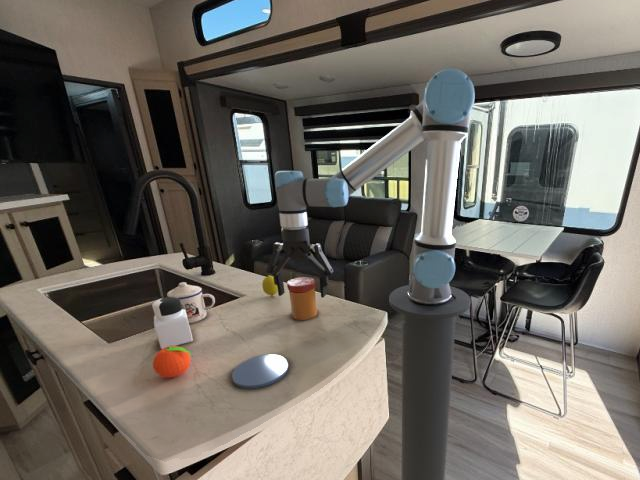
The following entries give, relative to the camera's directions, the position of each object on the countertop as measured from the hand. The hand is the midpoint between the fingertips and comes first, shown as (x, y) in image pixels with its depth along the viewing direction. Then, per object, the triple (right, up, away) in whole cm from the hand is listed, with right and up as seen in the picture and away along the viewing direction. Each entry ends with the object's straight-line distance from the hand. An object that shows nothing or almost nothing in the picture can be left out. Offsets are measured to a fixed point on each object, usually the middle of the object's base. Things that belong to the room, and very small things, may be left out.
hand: (302, 295), depth 99 cm
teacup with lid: (-34, -7, +1) cm, 34 cm away
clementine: (-20, -17, -27) cm, 38 cm away
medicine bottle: (-31, -12, -12) cm, 35 cm away
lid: (0, +4, -1) cm, 4 cm away
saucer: (-2, -17, -26) cm, 31 cm away
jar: (0, -6, +2) cm, 7 cm away
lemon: (-16, -1, +17) cm, 23 cm away
